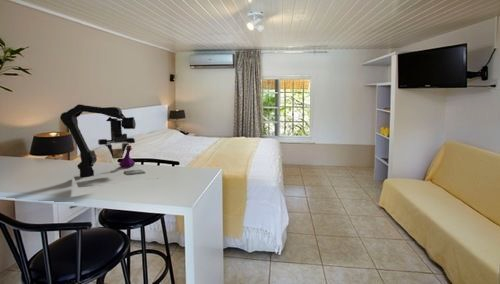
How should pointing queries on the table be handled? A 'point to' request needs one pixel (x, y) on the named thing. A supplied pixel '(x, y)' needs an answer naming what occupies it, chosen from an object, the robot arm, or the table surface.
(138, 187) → the table surface
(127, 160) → the perfume bottle
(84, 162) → the robot arm
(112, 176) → the table surface
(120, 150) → the walnut cube
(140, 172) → the slate coaster
